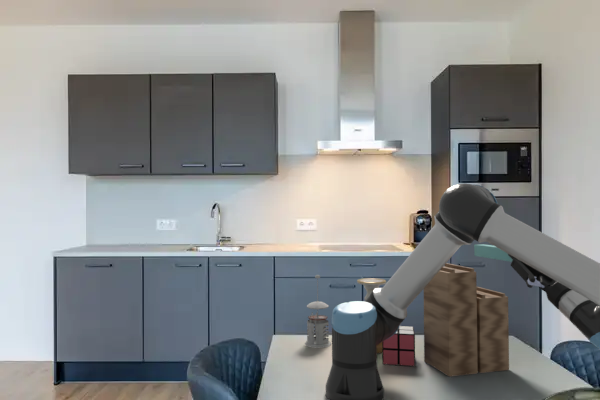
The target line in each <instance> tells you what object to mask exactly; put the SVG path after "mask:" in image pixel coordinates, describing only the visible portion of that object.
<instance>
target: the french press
mask: <svg viewBox="0 0 600 400" xmlns="http://www.w3.org/2000/svg"><path fill="white" fill-rule="evenodd" d="M314 278H315V279H317V280H316V281H317V282H316V283H317V292H316V293H317V294H316V295H317V298H316V299H317V300H316V301H312V302H310V303H309V302H308V304H307V305H306V308H307V309H310V310H326V309H328V308H329V304H327V303H325V302H324V301H319V279H321V275H320V274H315V276H314ZM307 318H308V319H307V320H306V325H307V326H306V331H307V333H306V341H305V342H304V345H305V346H306V347H309V348H313V349H315V348H316V349H318V348H319V349H323V348H327V347H330V346H332V341H330V340H329V329H330V328H329V320H328V316H327V315H324V314H319V312H316V313H315V314H314V312H313V311H312V312H311V314H310V315H309V316H308V317H307Z"/></svg>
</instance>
